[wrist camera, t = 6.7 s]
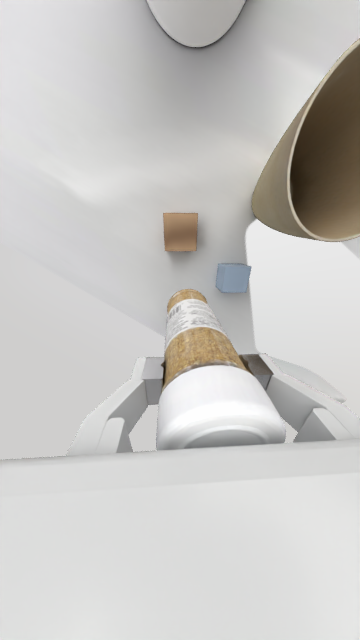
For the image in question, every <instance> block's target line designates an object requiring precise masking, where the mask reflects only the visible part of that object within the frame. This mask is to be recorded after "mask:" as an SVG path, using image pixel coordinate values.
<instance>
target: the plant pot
mask: <svg viewBox="0 0 360 640" xmlns="http://www.w3.org/2000/svg"><path fill="white" fill-rule="evenodd" d="M252 210H253V213H254V215H255V217H256V218H257V219H258V220H259V221H261V222H262V223H263V224H265V225H266V226H268V227H270V228H272V229H274V230H277V231H279V232H282V233H285V234H288V235H292V236H296V237H302V238H308V239H313V240H319V241H326V242H341V241H346V240H350V239H354V238H357V237H359V236H360V38H359V39H358V40H357V41H356V42H355V43H353V44H352V45H351V46H350V47H349V48H348V49H347V50H346V51H345V52H344V53H343V55H342V56H341V57H340V58H339V59H338V60H337V61H336V63H335V64H334V65H333V66H332V68H331V69H330V70H329V72H328V73H327V74H326V76H325V77H324V78H323V80H322V81H321V82H320V84H319V85H318V86H317V88H316V89H315V91H314V92H313V93H312V95H311V96H310V97H309V99H308V100H307V102H306V103H305V104H304V106H303V107H302V109H301V110H300V111H299V113H298V114H297V116H296V117H295V118H294V120H293V121H292V123H291V124H290V126H289V127H288V129H287V130H286V132H285V133H284V135H283V136H282V138H281V140H280V141H279V143H278V144H277V146H276V148H275V149H274V151H273V153H272V155H271V156H270V158H269V160H268V162H267V164H266V165H265V167H264V169H263V171H262V173H261V175H260V178H259V180H258V182H257V185H256V187H255V190H254V193H253V197H252Z"/></svg>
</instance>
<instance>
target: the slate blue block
mask: <svg viewBox="0 0 360 640" xmlns="http://www.w3.org/2000/svg"><path fill="white" fill-rule="evenodd" d="M250 271H251V267H250V266H247V265H244V264H218V271H217V280H216V287H217V288H218V289H219V290H220V291H221V292H222V293H231V292H246V291H247V286H248V281H249V276H250Z"/></svg>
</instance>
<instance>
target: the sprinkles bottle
mask: <svg viewBox="0 0 360 640" xmlns="http://www.w3.org/2000/svg"><path fill="white" fill-rule="evenodd" d="M167 311H168V316H167V324H166V337H165V351H164V352H165V353H164V358H165V373H164V386H163V388H162V394H161V396H160V399H159V404H158V405H159V406H158V418H157V437H156V448H157V451H159V450H176V449H193V448H210V447H227V446H244V445H261V444H278V443H284V442H285V437H286V430H285V425H284V422H283V420H282V418H281V416H280V415H279V413H278V411H277V410H276V408H275V406H274V405H273V403H272V401H271V400H270V398H269V397H268V395H267V393H266V392H265V390H264V389H263V387H262V385H261V384H260V382H259V381H258V380H257V379H256V378H255V377H254V376H253V375H252V374H251V373H250V372H249V371H247V370H246V368H245V366H244V364H243V363H242V361H241V360H240V358H239V356H238V354H237V353H236V351H235V349H234V348H233V346H232V343H231V341H230V339H229V338H228V336H227V334H226V333H225V331H224V329H223V328H222V326H221V324H220V323H219V321H218V320H217V318H216V316H215V315H214V313H213V311H212V310H211V308H210V307H209V306H208V304H207V301H206V299H205V297H204V296H203V295H202V294H201V293H200V292H198V291H196V290H193V289H185V290H181V291H178V292H177V293H175V294H174V295H173V296H172V298H171V299H170V300H169V303H168V306H167Z"/></svg>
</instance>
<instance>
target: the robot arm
mask: <svg viewBox="0 0 360 640" xmlns="http://www.w3.org/2000/svg"><path fill="white" fill-rule="evenodd" d="M245 1H246V0H147V3H148V5H149V7H150V9H151V11H152V13H153V15H154V16H155V18H156V20H157V21H158V23H159V24H160V26H161V27H162V28H163V29H164V30H165V32H166V33H167V34H168V35H169V36H171V37H172V38H173V39H174V40H176V41H177V42H179V43H181V44H183V45H186V46H190V47H203V46H206V45H209V44H211V43H213V42H215V41H216V40H218V39H219V38H220V37H222V36H223V35H224V34H225V33H226V32H227V31H228V29H229V28H230V27H231V26H232V24H233V23H234V21H235V20H236V18H237V17H238V15H239V13H240V11H241V9H242V7H243V5H244V3H245ZM239 358H240V360H241V361H242V363H243V364H244V366H245V368H246V370H247V371H249V372H250V373H251V374H252V375H253V376H254V377H255V378H256V379H257V380H258V381H259V382H260V384H261V385H262V387H263V389H264V390H265V392H266V393H267V395H268V397H269V398H270V400H271V401H272V403H273V405H274V406H275V408H276V410H277V411H278V413H279V415H280V416H281V417H282V418H283V419H284V420H285V421H286V422H287V423H288V424H289V425H291V426H292V427H293V428H294V429H295V430H296V431H297V432H298V434H297V436H296V437H295V439H294V441H293V443H278V444H261V445H244V446H227V447H210V448H193V449H176V450H159V451H143V452H133V450H132V447H131V443H130V439H129V433H130V432H131V430H132V429H133V427H134V426H135V424H136V423H137V421H138V420H139V419H140V417H141V416H142V414H143V413H144V411H145V410H146V408H147V407H148V405H155V404H159V399H160V396H161V394H162V388H163V386H164V373H165V358H164V357H138V358H137V359H136V362H135V366H134V369H133V372H132V375H131V379H130V380H128V381H126V382H125V383H124V384H123V385H121V386H120V387H119V388H118V389H117V390H116V391H115V392H114V393H113V394H112V395H110V396H109V397H108V398H107V399H106V400H105V401H103V402H102V403H101V404H100V405H99V406H98V407H97V408H96V409H94V410H93V411H92V412H91V413H90V414H89V415H88V416H87V417H86V418H85V419H84V420H83V422H82V425H81V426H80V428H79V430H78V432H77V434H76V436H75V439H74V440H73V442H72V444H71V446H70V448H69V450H68V452H67V454H66V456H57V457H39V458H22V459H5V460H0V640H360V418H359V417H357V416H356V415H355V414H354V413H353V412H352V411H351V410H350V409H349V408H348V407H347V406H345V405H343V404H342V403H340V402H338V401H336V400H334V399H332V398H331V397H329V396H327V395H325V394H323V393H321V392H319V391H318V390H316V389H314V388H312V387H310V386H308V385H306V384H305V383H303V382H301V381H299V380H297V379H295V378H294V377H292V376H290V375H288V374H284V373H283V372H282V371H281V369H280V368H279V367H278V366H277V365H276V364H275V362H274V361H273V360H272V359H271V358H270V357H269V356H268V355H267V354H266V353H262V354H243V355H239Z"/></svg>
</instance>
